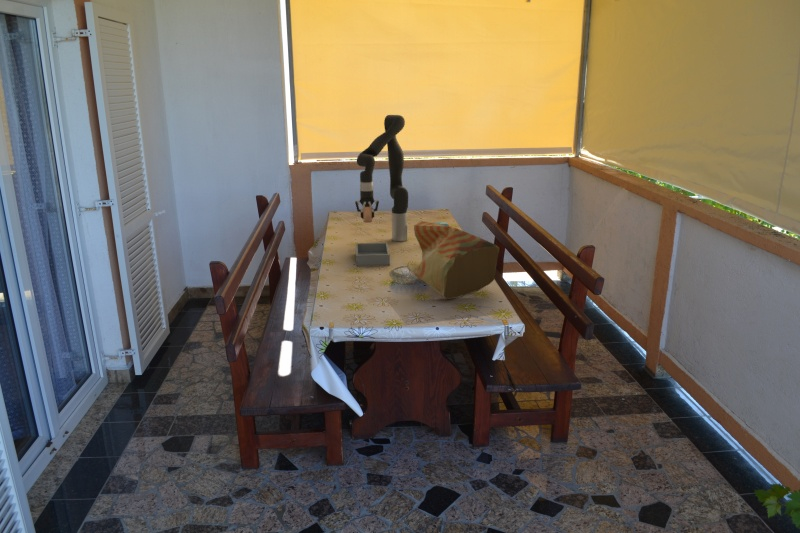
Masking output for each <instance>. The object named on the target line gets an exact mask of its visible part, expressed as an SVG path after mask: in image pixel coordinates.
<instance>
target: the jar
mask: <svg viewBox="0 0 800 533" xmlns="http://www.w3.org/2000/svg"><path fill="white" fill-rule="evenodd" d="M362 221H363V223H365V224H367V223H372V222H373V218H372V210H371V207H364V209H363V219H362Z"/></svg>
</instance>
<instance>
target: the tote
mask: <svg viewBox="0 0 800 533" xmlns="http://www.w3.org/2000/svg"><path fill="white" fill-rule="evenodd" d="M388 244H389V243H388V242H366V243H363V242H362V243H358V242H357V243H355V259H356V260H355V262H356V264H355V266H356V267H371V266H372V267H375V266H379V267H380V266H390V265H391V255H390V250H389V245H388Z"/></svg>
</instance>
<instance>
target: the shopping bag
mask: <svg viewBox="0 0 800 533" xmlns="http://www.w3.org/2000/svg"><path fill="white" fill-rule="evenodd" d="M435 223H436V222H428V221H423V220H420V221H419V222H416V223H415V224H414V225H413V231H414V236H415V238H416V241H417V242H418V245H419V248H420V250H421V261H420V263H419V264H418V263H411V262H408V263H407V264H406V265H405V266H406V269H407V270H408V271H409V272H410V271H411V272H410V273H412V275H414V276H415V277H417V278H418V279H420V280H421V281H422V282H424V283H425V284H427V285H428V286H429V287H431V288H432V289H433V290H434V291H435V292H437V293H439V294H440V295H441V296H442V297H444V298H445V299H446V300H450V299H455V298H460V297H462V296H466V295H469V294H471V293H472V294H473V293H475V292H478V291H480V290H481V289H484V288H485V287H487V286H488V285H490V284H491V283H492V282H493V281H494V280H495V275H496V270H497V265H498V258H499V253H500V247H499V246H498V245H497V244H495V243H493V242H491V241H488V240H486V239H483V238H481V237H480V236H476V235H475V234H471V233H469V232H466V231H465V230H461V229H458V228H456V227H453V226H450V225H449V226H444V225H440V224H435Z"/></svg>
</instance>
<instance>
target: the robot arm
mask: <svg viewBox="0 0 800 533" xmlns="http://www.w3.org/2000/svg"><path fill="white" fill-rule="evenodd" d="M405 125H406V120H405V118H404V116H402V115H401V114H387V115H386V116H385V117H384V122H383V126H384V132H383V133H381V134H380V135H378V136H377V137H376V138H375V139H373V141H372V142H371V143H370V145H369V146H368V147H367V148H365V149H364V150H363V151H361V152H360V153H359V154H358V155H357V158H356V164H357V166H359V167H362V168H363V167H364V168H365V169H364V170H362V171H360V174H359V182H360V183H359V193H360V194H359V195H360V196H359V197H360V198H359V200H355V201H354V203H355V208H356V211H357V212H359V214H360V218H361V219H362V220H363V209H364V207H371V210H372V219H374V218H375V212H377V211H378V209H379V202H380V201H379V200H378V199H377V200H376V199H375V198H374V183H373V173H374V168H375V164H376V160H375V157H377V156H378V155H379V154H380V153H381V151H383V150H384V148H385V146H386V145H387V146H386V147H387V158H388V161H387V162H388V170H389V171H388V172H389V178H390V179H389V183H390V184H389V185H390V186H389V195H390V198H391V200H393V206H392V207H391V240H392V241H393V242H394V241H395V242H405V241H406V242H407V241H408V221H407V220H408V213H407V212H408V208H409V192H408V189H407V188H406V187H404V186H403V179H402V176H403V171H404V168H405V159H404V151H403V148H402V147H401V146H400V144H399V141H398V139H397V135H398V134H399V133H400V132H402V130H403V129H404V127H405ZM373 204H374V205H375V208H374V207H373ZM360 205H361V207H359V206H360Z"/></svg>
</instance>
